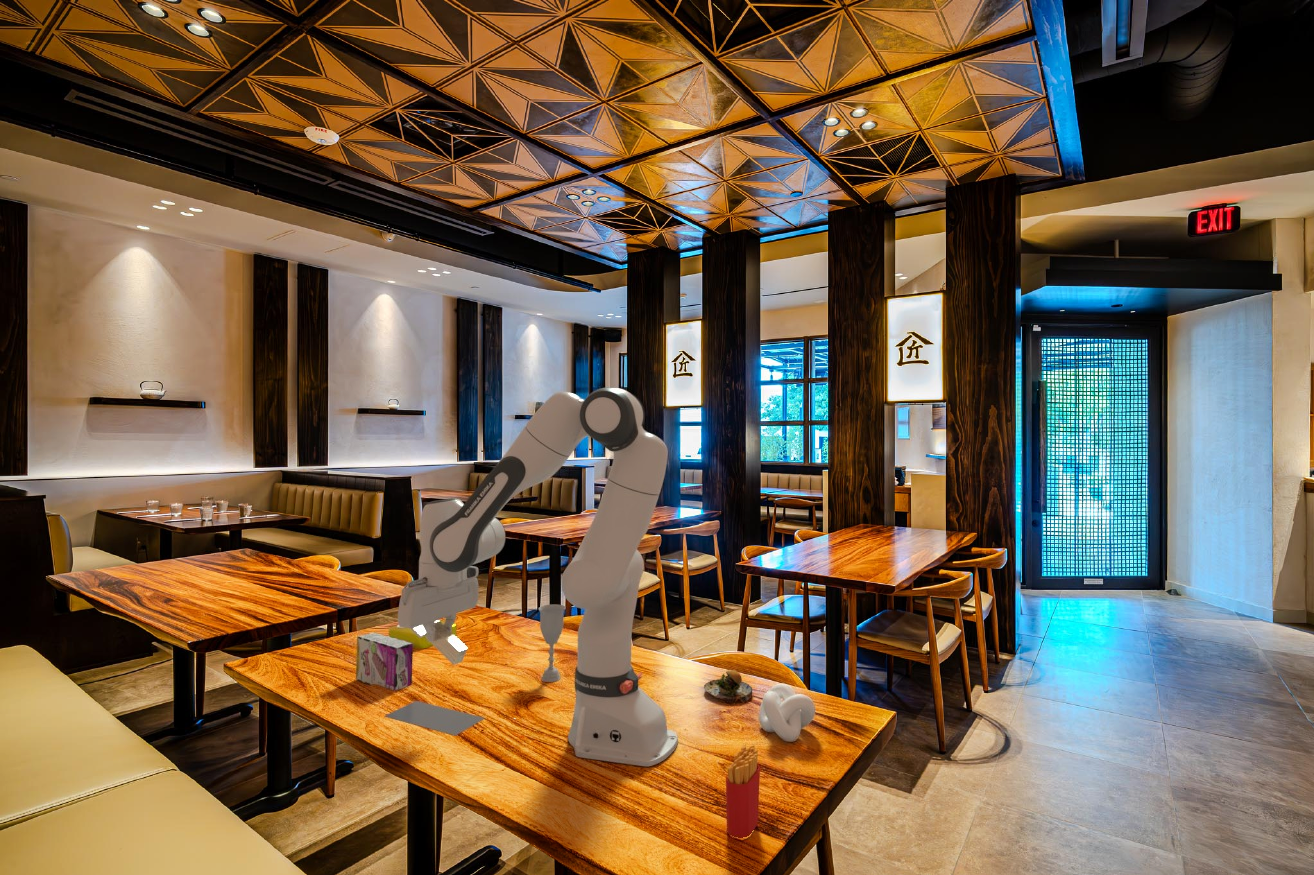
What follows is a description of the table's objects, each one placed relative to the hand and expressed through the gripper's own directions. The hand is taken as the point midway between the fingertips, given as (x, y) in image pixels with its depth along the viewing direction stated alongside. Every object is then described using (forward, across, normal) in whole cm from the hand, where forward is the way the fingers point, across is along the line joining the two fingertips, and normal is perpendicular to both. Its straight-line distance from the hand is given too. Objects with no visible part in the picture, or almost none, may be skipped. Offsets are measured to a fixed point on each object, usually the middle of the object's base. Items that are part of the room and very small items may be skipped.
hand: (439, 638), depth 133 cm
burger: (+18, +43, -51) cm, 69 cm away
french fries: (+18, -7, -70) cm, 73 cm away
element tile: (+19, +41, +46) cm, 64 cm away
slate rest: (+18, 0, +1) cm, 18 cm away
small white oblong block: (0, 0, +2) cm, 2 cm away
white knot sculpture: (+18, +28, -68) cm, 76 cm away
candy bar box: (+12, +9, +19) cm, 25 cm away
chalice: (+18, +32, -7) cm, 37 cm away
